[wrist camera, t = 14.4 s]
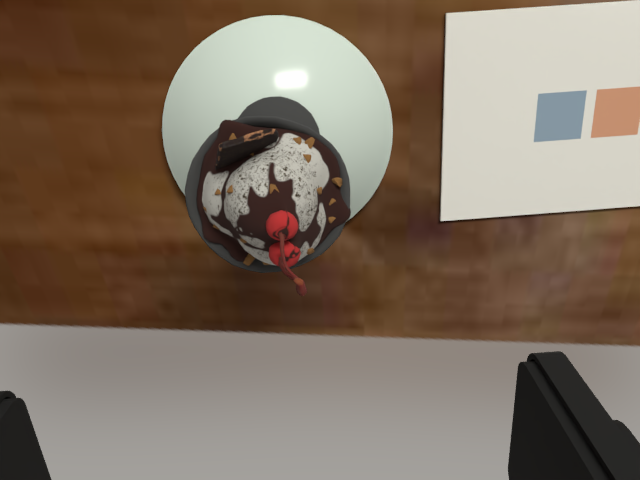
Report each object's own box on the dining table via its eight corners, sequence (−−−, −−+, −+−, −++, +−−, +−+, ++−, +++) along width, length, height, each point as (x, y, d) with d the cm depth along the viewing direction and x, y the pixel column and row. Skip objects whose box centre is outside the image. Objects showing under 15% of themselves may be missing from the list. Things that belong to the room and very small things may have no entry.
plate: (389, 6, 30) (391, 7, 30) (392, 231, 35) (393, 234, 35) (144, 23, 30) (142, 24, 29) (183, 246, 35) (182, 251, 35)
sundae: (316, 209, 34) (329, 355, 20) (205, 177, 33) (139, 307, 19) (352, 102, 31) (396, 185, 18) (234, 63, 30) (183, 119, 17)
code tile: (755, -8, 31) (758, -8, 31) (707, 199, 36) (709, 200, 35) (445, 13, 30) (446, 13, 30) (439, 219, 35) (440, 221, 35)
